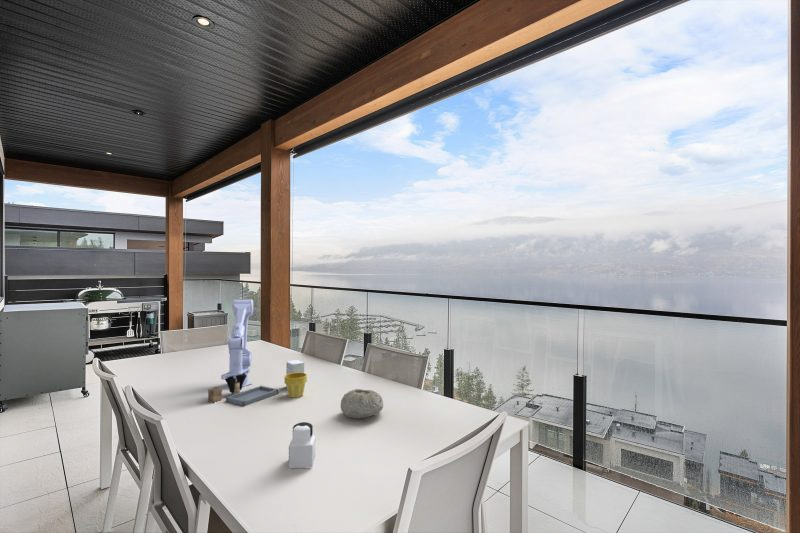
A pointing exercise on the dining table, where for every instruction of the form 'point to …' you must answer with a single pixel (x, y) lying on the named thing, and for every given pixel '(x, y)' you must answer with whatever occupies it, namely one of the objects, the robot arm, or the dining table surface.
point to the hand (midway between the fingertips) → (235, 390)
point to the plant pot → (295, 384)
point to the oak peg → (236, 388)
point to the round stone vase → (361, 403)
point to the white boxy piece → (302, 446)
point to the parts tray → (252, 395)
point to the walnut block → (214, 394)
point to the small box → (294, 367)
